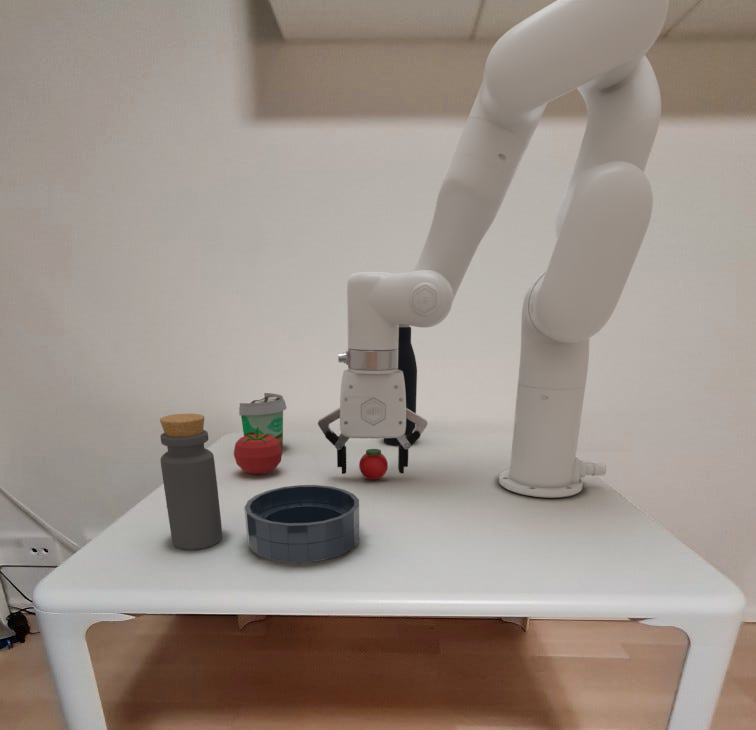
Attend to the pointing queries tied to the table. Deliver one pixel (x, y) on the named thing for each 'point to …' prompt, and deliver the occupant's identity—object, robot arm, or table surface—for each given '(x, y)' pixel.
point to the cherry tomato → (373, 464)
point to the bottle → (190, 483)
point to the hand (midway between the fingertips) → (372, 471)
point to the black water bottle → (406, 376)
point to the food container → (264, 416)
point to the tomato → (258, 453)
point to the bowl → (302, 523)
